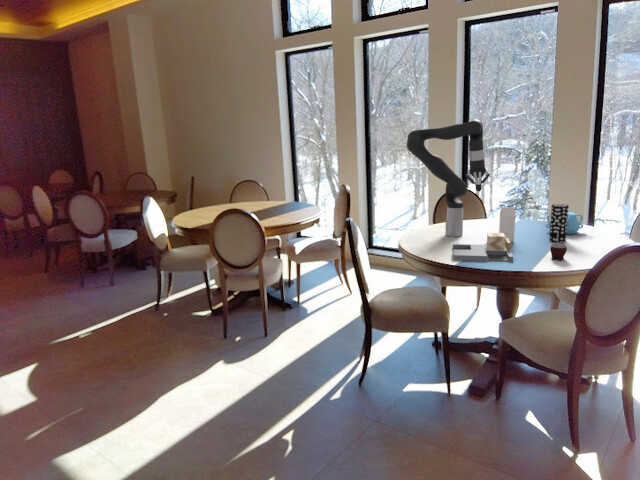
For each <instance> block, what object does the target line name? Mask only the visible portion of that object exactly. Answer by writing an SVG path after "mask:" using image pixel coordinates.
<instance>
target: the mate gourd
mask: <svg viewBox="0 0 640 480" xmlns="http://www.w3.org/2000/svg"><path fill="white" fill-rule="evenodd" d="M558 237H559V235H558V232H557V242H552V244H551V245H550V250H549V251H550V254H551V261H556V260H557V261H560V262H562V261H563V260H564V259H565V258H564V257H565V255H566V253H567V250H568V248H567V245H566V243H565V242H562V243H561V242H558Z"/></svg>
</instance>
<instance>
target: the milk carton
mask: <svg viewBox="0 0 640 480" xmlns="http://www.w3.org/2000/svg"><path fill="white" fill-rule="evenodd" d="M515 227H516V210H515V206H513V207H512V206H511V207H510V206H509V207H507V206H504V207H503V206H502V207H500V213H499V227H498V228H499V229H498V230H499V231H498V233H504V235H505V238H508V239H509V241H510V243H511V242H515Z"/></svg>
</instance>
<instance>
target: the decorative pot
mask: <svg viewBox="0 0 640 480" xmlns="http://www.w3.org/2000/svg"><path fill="white" fill-rule="evenodd" d="M577 216H578V217H580V220H579V219H578V217H577ZM550 218H551V213H550V214H548V215H547V218H546V220H547V223H546V224H545V227H546V228H547V229H550V223H551V220H550ZM583 219H584V217H583V215H582V214H580V213H575V212H572V211H569V209H568V219H567V232H566V234H568V235H574V234H575V233H578V232H579V230H581V229H583V227H584V225H583V224H582V222H583Z"/></svg>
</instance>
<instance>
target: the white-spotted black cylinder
mask: <svg viewBox="0 0 640 480" xmlns="http://www.w3.org/2000/svg"><path fill="white" fill-rule="evenodd" d="M569 207H570V206H569V204H564V203H554V204H551V211H550V214H551V216H550V221H551V223H550V228H549V239H548V240H549V242H552V243H554V242H557V232H558V235H559V237H558V242H561V243H566V241H567V233H566V232H567V219H568V212H569V211H568V210H569Z"/></svg>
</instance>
